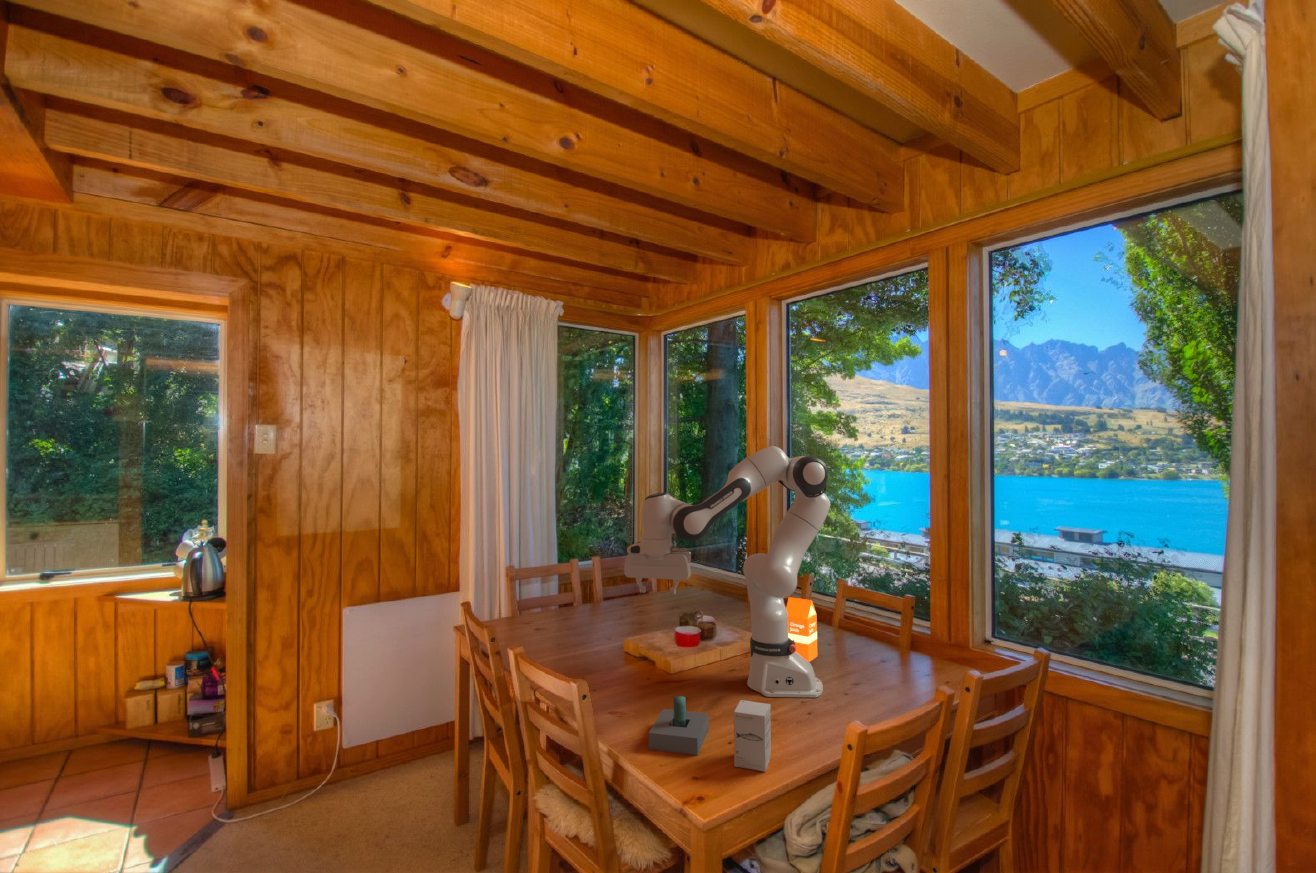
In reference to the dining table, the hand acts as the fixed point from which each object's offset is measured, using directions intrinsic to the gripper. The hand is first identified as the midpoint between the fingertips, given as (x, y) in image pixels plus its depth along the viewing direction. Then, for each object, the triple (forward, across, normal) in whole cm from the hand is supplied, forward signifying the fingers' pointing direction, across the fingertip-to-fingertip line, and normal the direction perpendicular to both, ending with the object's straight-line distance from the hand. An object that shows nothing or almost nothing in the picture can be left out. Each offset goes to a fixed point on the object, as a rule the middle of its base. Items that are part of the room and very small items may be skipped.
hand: (657, 593), depth 183 cm
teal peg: (+29, -13, +28) cm, 42 cm away
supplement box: (+29, -32, +35) cm, 56 cm away
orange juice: (+29, -40, -40) cm, 64 cm away
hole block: (+29, -13, +28) cm, 42 cm away
